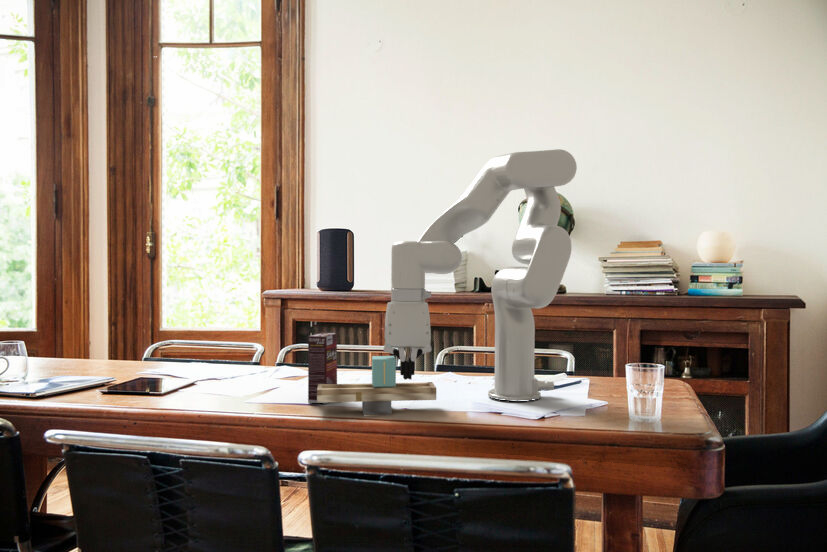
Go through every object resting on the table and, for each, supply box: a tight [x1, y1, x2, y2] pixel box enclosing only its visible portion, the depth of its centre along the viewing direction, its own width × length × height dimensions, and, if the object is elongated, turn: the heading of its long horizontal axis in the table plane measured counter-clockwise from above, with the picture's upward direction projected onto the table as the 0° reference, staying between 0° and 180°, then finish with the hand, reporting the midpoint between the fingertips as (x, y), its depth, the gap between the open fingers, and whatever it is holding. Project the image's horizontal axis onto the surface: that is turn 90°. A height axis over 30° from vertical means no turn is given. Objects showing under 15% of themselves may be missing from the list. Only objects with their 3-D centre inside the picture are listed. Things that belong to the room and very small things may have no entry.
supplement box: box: [307, 332, 338, 405], centre depth 167 cm, size 9×5×16 cm, turn 168°
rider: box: [371, 355, 397, 387], centre depth 156 cm, size 5×5×7 cm
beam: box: [317, 381, 437, 416], centre depth 156 cm, size 26×9×6 cm, turn 96°
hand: (407, 378), depth 156 cm, fingers closed
